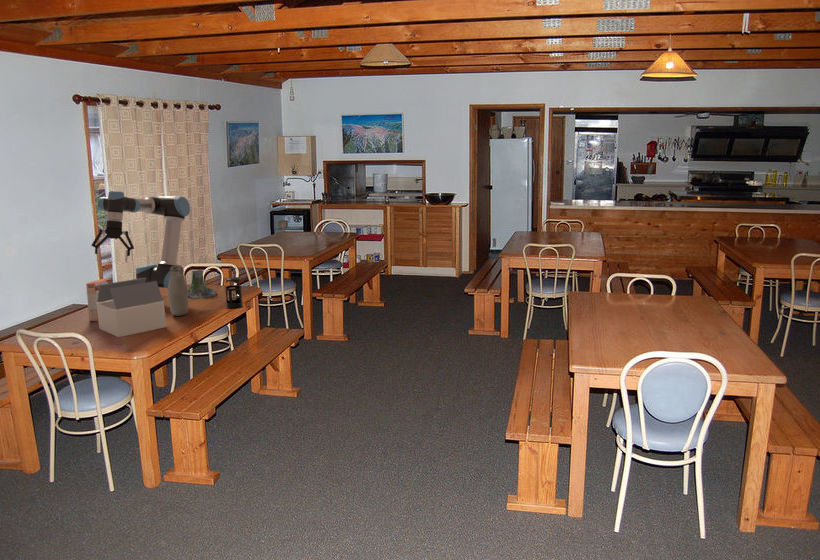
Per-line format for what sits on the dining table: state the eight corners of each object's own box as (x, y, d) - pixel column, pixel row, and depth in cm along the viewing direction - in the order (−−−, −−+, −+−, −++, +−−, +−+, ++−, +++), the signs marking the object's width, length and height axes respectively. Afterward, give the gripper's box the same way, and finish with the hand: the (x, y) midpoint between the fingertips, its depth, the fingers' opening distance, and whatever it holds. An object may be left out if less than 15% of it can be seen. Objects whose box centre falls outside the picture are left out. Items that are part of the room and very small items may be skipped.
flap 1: (100, 285, 347) (99, 284, 348) (97, 301, 353) (97, 301, 353) (145, 278, 364) (145, 277, 365) (142, 293, 370) (142, 293, 370)
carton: (145, 319, 373) (143, 294, 371) (166, 326, 358) (163, 301, 355) (99, 328, 356) (96, 303, 353) (118, 337, 340) (115, 310, 337)
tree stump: (191, 301, 416) (185, 271, 415) (183, 302, 433) (178, 274, 432) (221, 295, 425) (215, 266, 424) (212, 297, 442) (207, 269, 442)
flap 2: (156, 281, 356) (156, 280, 356) (162, 300, 355) (162, 300, 354) (109, 288, 340) (109, 288, 339) (116, 309, 338) (116, 308, 338)
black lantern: (238, 309, 392) (235, 270, 387) (222, 309, 393) (220, 269, 389) (246, 304, 403) (244, 266, 398) (231, 304, 405) (229, 265, 400)
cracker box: (98, 322, 369) (95, 283, 364) (88, 321, 370) (85, 283, 365) (115, 315, 382) (111, 278, 378) (105, 314, 383) (101, 278, 379)
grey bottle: (169, 318, 375) (164, 267, 369) (172, 313, 385) (168, 264, 379) (187, 317, 376) (183, 267, 371) (190, 312, 386) (186, 263, 380)
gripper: (87, 218, 351) (84, 259, 351) (139, 222, 358) (137, 263, 358) (89, 219, 358) (87, 260, 358) (140, 223, 365) (138, 263, 365)
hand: (112, 261), depth 358 cm, fingers open, 13 cm apart
